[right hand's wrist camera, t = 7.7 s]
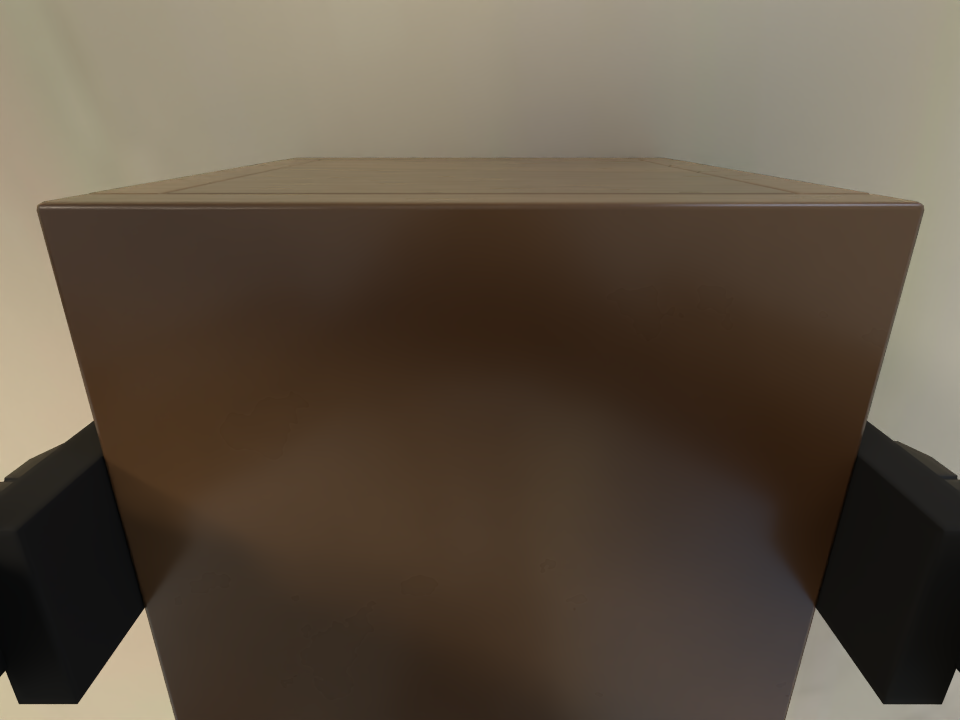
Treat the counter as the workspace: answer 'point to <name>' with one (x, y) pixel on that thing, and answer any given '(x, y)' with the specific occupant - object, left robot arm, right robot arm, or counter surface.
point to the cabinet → (480, 427)
